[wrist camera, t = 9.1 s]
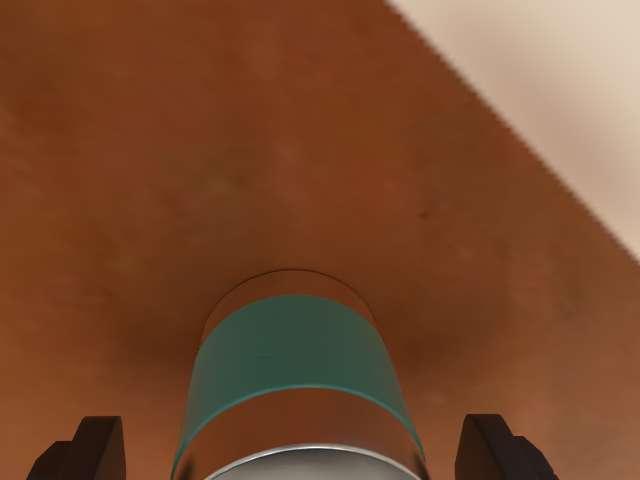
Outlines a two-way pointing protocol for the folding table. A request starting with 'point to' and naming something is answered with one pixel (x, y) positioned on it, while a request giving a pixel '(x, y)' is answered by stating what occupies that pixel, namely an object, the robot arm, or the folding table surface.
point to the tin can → (295, 389)
